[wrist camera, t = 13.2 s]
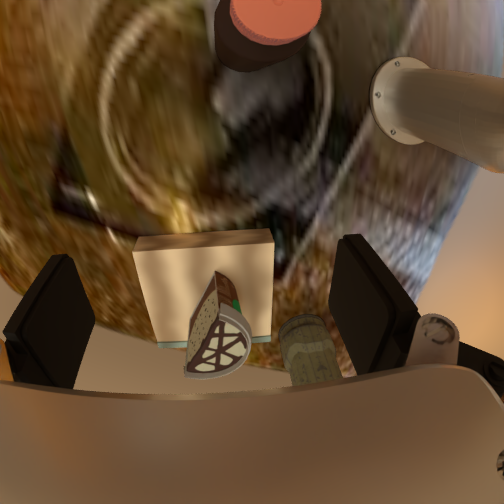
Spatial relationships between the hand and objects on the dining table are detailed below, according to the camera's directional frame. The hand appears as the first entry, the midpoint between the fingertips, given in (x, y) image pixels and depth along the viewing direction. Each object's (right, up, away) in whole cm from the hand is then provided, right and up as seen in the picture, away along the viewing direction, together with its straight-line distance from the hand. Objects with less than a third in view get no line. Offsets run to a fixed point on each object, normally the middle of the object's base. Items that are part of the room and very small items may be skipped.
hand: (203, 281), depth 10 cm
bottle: (+1, +25, +19) cm, 31 cm away
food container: (-3, -6, +32) cm, 33 cm away
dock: (-5, -4, +35) cm, 36 cm away
